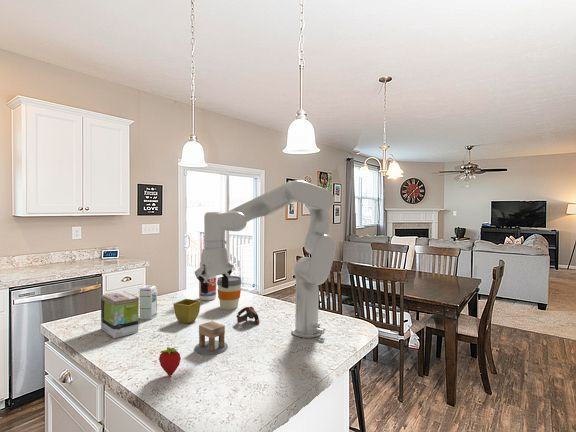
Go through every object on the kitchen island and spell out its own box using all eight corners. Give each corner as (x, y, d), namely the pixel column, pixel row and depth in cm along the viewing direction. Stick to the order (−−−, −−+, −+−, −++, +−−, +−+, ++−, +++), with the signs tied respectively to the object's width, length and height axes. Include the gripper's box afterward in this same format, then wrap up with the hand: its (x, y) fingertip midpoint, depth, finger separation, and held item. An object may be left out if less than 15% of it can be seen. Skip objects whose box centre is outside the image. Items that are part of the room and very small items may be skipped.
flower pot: (172, 323, 149) (172, 303, 149) (185, 317, 157) (185, 298, 157) (188, 326, 146) (188, 305, 145) (201, 320, 154) (201, 300, 153)
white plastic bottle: (212, 295, 195) (212, 247, 195) (218, 299, 188) (219, 249, 187) (196, 297, 190) (196, 248, 189) (202, 301, 182) (203, 250, 182)
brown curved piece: (260, 328, 146) (251, 313, 144) (241, 336, 147) (232, 321, 145) (263, 312, 157) (254, 298, 155) (245, 320, 159) (237, 306, 157)
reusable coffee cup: (239, 311, 168) (239, 281, 167) (214, 310, 168) (214, 280, 167) (242, 303, 180) (243, 276, 180) (219, 303, 180) (220, 275, 180)
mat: (234, 347, 124) (234, 346, 124) (207, 358, 115) (207, 357, 115) (214, 338, 132) (214, 337, 132) (187, 348, 123) (187, 347, 123)
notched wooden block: (212, 341, 128) (212, 320, 128) (224, 347, 124) (224, 325, 123) (198, 346, 124) (199, 325, 124) (211, 352, 119) (211, 330, 119)
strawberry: (167, 383, 98) (167, 350, 98) (154, 375, 103) (154, 343, 103) (185, 376, 103) (185, 344, 103) (172, 368, 108) (172, 337, 108)
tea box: (139, 332, 138) (139, 296, 137) (113, 339, 130) (113, 301, 130) (124, 323, 148) (125, 290, 148) (100, 329, 141) (100, 294, 140)
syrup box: (151, 319, 153) (152, 288, 153) (139, 319, 153) (139, 287, 153) (157, 315, 159) (157, 285, 158) (144, 315, 159) (144, 284, 158)
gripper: (226, 242, 134) (226, 284, 135) (189, 246, 121) (189, 293, 121) (238, 243, 129) (238, 287, 130) (201, 248, 116) (202, 297, 116)
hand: (215, 290), depth 126 cm, fingers open, 9 cm apart
